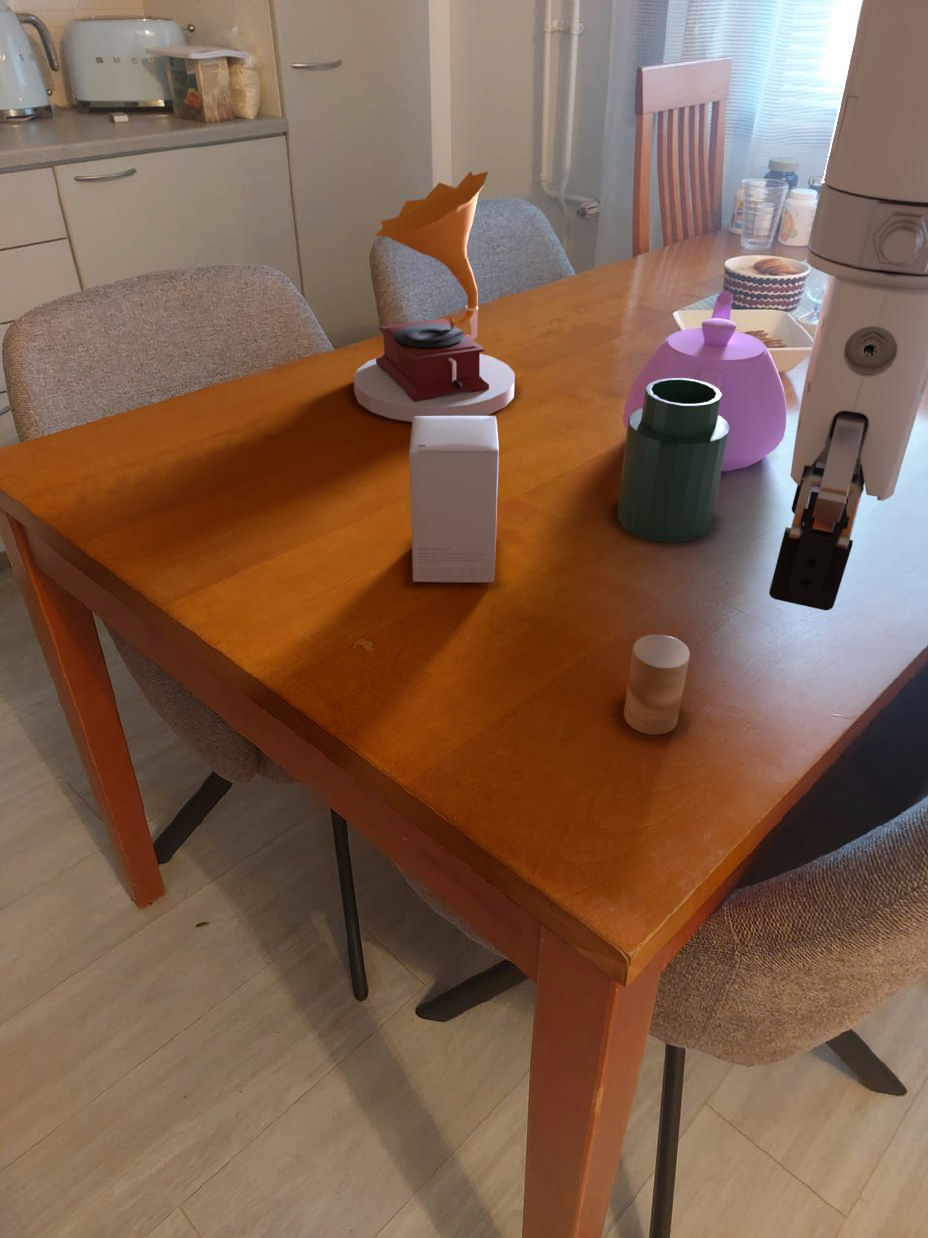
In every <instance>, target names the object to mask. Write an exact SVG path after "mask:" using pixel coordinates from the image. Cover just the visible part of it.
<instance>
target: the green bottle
mask: <svg viewBox="0 0 928 1238" xmlns="http://www.w3.org/2000/svg"><path fill="white" fill-rule="evenodd" d="M721 396H722V394H721V392H720V391H719V389H718V388H716V387H714V386H712V385H711V384H708V383H705V382H702V381H698V380H693V379H686V378H667V379H661V380H656V381H654V382H652V383H650V384H648V386H647V387H646V389H645V396H644V403H643V408H640V409H638V410H636V411H634V412H633V413H632V414H631V415H630V417H629V419H628V426H627V431H626V435H625V443H624V444H625V445H624V452H623V461H622V462H623V463H622V469H621V476H620V477H621V478H620V485H619V486H620V487H619V495H618V503H617V519H618V523H620V524H621V526H622V527H623V528H624V529H626V530H627V531H628V532H630V533H631V534H633V535H635V536H639V537H640V538H643V539H646V540H650V541H655V542H661V543H684V542H691V541H693V540H696V539H699V538H701V537H704V535H705V534H707V533H708V532H709V531H710V529H711V526H712V521H713V519H714V514H715V508H716V504H717V497H718V492H719V487H720V481H721V477H722V472H723V471H722V466H723V461H724V456H725V450H726V445H727V440H728V434H729V429H730V428H729V425H728V423H727V421H726V420H725V419H723V418H722V417H721V416H719V415H718V413H719V408H720V402H721Z"/></svg>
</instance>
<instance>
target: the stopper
mask: <svg viewBox="0 0 928 1238" xmlns="http://www.w3.org/2000/svg"><path fill="white" fill-rule="evenodd" d="M690 657H691V652H690V650H689V648H688V646H687V645H686V644H685V643H684V642H682V641H681V640H679V639H678V638H676V637H673V636H670V635H665V634H655V633H654V634H648V635H644V636H642V637H640V638H638V639H637V640H636V641H635V642H634V644H633V646H632V652H631V660H630V667H629V674H628V680H627V687H626V695H625V700H624V701H625V702H624V708H623V718H624V720H625V723H627V724H628V726H629V727H630V728H632V729H633V730H635V731H637V732H639V733H642V734H646V735H653V736H658V735H664V734H667V733H669V732H671V731H673V730H674V728H676V726H677V724H678V720H679V716H680V710H681V704H682V699H683V693H684V689H685V684H686V678H687V673H688V668H689V663H690Z"/></svg>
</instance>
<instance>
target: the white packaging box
mask: <svg viewBox="0 0 928 1238" xmlns="http://www.w3.org/2000/svg"><path fill="white" fill-rule="evenodd" d="M410 432H411V433H410V442H409V450H408V461H409V463H408V464H409V491H410V492H409V493H410V499H409V500H410V523H411V524H410V527H411V560H412V562H411V563H412V581H413V583H414V582H415V583H481V584H483V583H484V584H486V583H494V582H495V576H496V574H495V573H496V550H497V549H496V547H497V546H496V545H497V519H498V518H497V515H498V514H497V513H498V489H499V487H498V486H499V459H500V458H499V455H500V454H499V451H500V450H499V434H498V422H497V417H496V415H486V416H415V417H413V422H412V425H411V431H410Z"/></svg>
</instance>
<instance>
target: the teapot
mask: <svg viewBox="0 0 928 1238" xmlns="http://www.w3.org/2000/svg"><path fill="white" fill-rule="evenodd" d="M732 306H733V294H732V292H731V291H729V290H723V291H721V292H719V293H718V295H717V297H716V300H715V303H714V307H713V311H712V315H711V317H710V318H708V319H705V320H703V321H701V327H699V328H687V329H682V330H677V331H676V332H673V333H672V334H670V335H668V336H667V337H666V338H665V339H664V340H663V341H662V343H661V344H659V346H657V348H656V349H655V351H653V353H652V354H651V355H650V356H649V358H648V359H647V360H646V362H645V363H644V364H643V365H642V368H641V369H640V370H639V372H638V373H637V375H636V377H635V378H634V381H633V383H632V384H631V387H630V389H629V391H628V393H627V397H626V400H625V404H624V408H623V415H622V422H623V426H624V429H625V431H626V432H627V426H628V419H629V417H630V415H631V414H632V413H633V412H634V411H636V410H638V409H640V408H643V403H644V396H645V389H646V387H647V386H648V384H650V383H652V382H654V381H656V380H661V379H667V378H686V379H693V380H698V381H702V382H705V383H708V384H711V385H712V386H714V387H716V388H718V389H719V391H720V392H721V394H722V396H721V402H720V408H719V413H718V415H719V416H721V417H722V418H723V419H725V420H726V421H727V423H728V425H729V428H730V429H729V434H728V440H727V445H726V450H725V456H724V461H723V466H722V471H721V472H729V471H730V472H731V471H736V470H740V469H746V468H748V467H750V466H753V465H755V464H756V463H758V462H759V461H761V460H762V459H764V458H765V457H766V456H768V455H769V454H771V453H772V452H773V451H774V450H775V449H776V448H777V447H778V446H779V445H780V444H781V443H782V441H783V439H784V437H785V431H786V427H787V414H788V412H787V400H786V395H785V394H786V393H785V389H784V385H783V382H782V380H781V376H780V374H779V372H778V368H777V366H776V364H775V362H774V359H773V356H772V355H771V352H770V351H769V349H768V347H767V345H765V343H764V342H762V341H761V340H760V339H759V338H757V337H755V336H753V335H750V334H748V333H744V332H741V331H736V329H737V323H735V322H734V321H732V320H731V312H732Z"/></svg>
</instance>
